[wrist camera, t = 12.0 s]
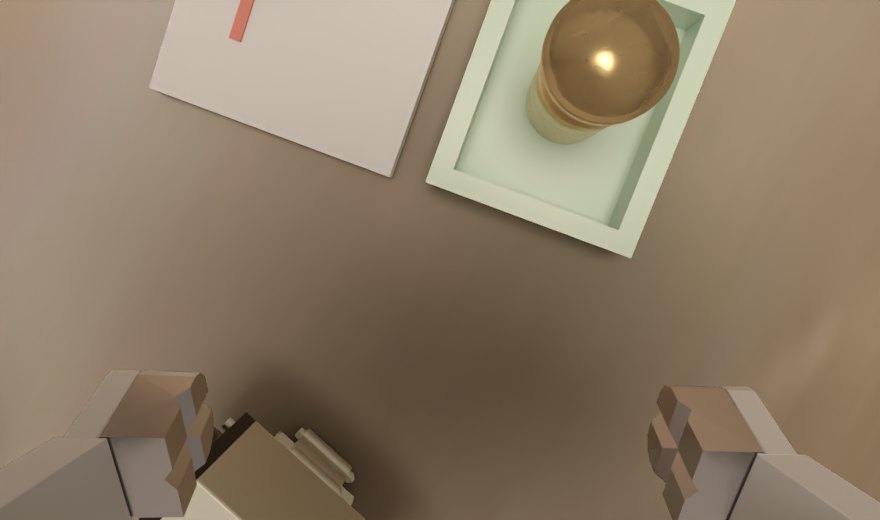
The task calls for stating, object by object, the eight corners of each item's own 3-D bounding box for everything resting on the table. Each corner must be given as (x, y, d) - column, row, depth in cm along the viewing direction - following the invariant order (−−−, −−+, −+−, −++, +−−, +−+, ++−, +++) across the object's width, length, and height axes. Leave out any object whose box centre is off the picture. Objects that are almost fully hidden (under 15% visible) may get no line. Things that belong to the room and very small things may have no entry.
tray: (431, 184, 32) (425, 182, 28) (514, -46, 31) (519, -78, 27) (614, 252, 32) (631, 258, 28) (706, 23, 30) (735, 0, 27)
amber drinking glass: (508, 130, 30) (523, 96, 21) (540, 43, 30) (572, -35, 20) (592, 161, 30) (648, 142, 20) (626, 74, 30) (701, 11, 20)
